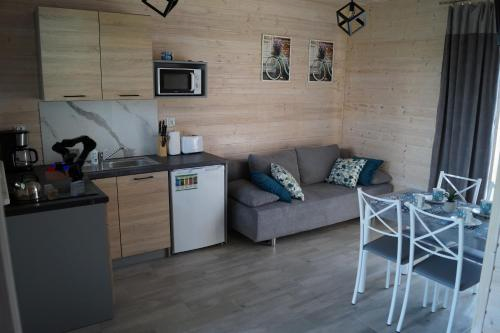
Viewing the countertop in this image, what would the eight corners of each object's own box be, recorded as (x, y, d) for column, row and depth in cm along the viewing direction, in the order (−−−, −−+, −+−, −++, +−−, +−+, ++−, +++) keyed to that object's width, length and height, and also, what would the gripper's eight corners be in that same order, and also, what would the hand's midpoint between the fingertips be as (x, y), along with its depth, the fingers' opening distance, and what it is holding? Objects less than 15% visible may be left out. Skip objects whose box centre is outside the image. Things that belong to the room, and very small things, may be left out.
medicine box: (76, 196, 267) (75, 183, 265) (70, 195, 268) (69, 182, 267) (85, 193, 274) (84, 180, 272) (80, 192, 275) (78, 180, 274)
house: (75, 174, 331) (73, 160, 328) (59, 180, 311) (58, 165, 309) (61, 174, 333) (60, 160, 331) (45, 179, 314) (43, 164, 311)
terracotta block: (51, 192, 275) (50, 184, 274) (53, 194, 272) (52, 185, 271) (45, 193, 273) (44, 185, 271) (46, 195, 270) (46, 186, 268)
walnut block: (56, 196, 266) (55, 189, 265) (58, 198, 262) (58, 190, 261) (48, 198, 262) (47, 190, 261) (50, 199, 259) (49, 192, 258)
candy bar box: (65, 167, 358) (64, 149, 354) (68, 166, 363) (67, 148, 359) (78, 168, 357) (76, 149, 353) (81, 166, 361) (79, 148, 358)
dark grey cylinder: (53, 194, 271) (52, 185, 270) (55, 196, 267) (54, 187, 266) (45, 195, 268) (44, 187, 266) (47, 197, 264) (46, 188, 263)
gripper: (53, 150, 268) (60, 169, 262) (82, 147, 280) (89, 165, 274) (51, 160, 275) (57, 179, 269) (79, 157, 287) (86, 175, 281)
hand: (73, 174), depth 273 cm, fingers open, 9 cm apart
